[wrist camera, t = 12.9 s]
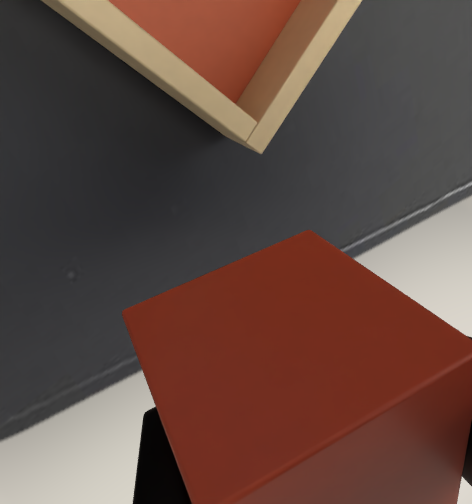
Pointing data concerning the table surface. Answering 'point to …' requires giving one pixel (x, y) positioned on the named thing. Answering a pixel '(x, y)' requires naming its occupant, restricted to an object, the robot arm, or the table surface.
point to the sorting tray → (220, 52)
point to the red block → (306, 382)
